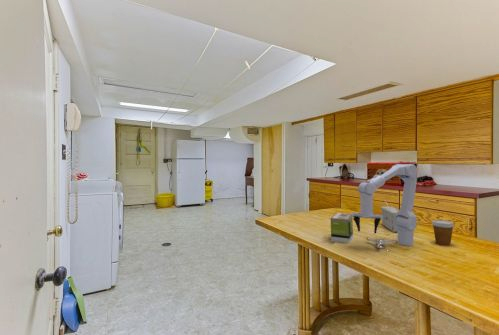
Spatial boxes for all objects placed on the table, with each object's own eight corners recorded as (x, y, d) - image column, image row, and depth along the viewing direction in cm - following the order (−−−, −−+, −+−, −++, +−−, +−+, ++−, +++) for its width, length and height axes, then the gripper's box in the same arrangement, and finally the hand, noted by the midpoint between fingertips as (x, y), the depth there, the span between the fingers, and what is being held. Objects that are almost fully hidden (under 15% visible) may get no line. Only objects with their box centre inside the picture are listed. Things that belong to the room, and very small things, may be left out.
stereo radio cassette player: (406, 233, 154) (406, 201, 153) (392, 232, 155) (392, 201, 155) (392, 224, 174) (392, 196, 174) (380, 224, 176) (379, 196, 175)
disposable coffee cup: (448, 241, 137) (448, 220, 136) (458, 247, 128) (458, 224, 127) (429, 240, 139) (428, 219, 139) (436, 246, 130) (436, 223, 130)
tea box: (336, 235, 153) (335, 212, 152) (353, 237, 147) (353, 213, 147) (330, 242, 140) (330, 217, 139) (349, 245, 135) (349, 218, 134)
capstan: (366, 242, 136) (366, 235, 136) (396, 246, 128) (395, 239, 128) (363, 248, 125) (363, 241, 125) (394, 254, 118) (394, 246, 118)
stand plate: (370, 243, 137) (370, 240, 137) (393, 246, 131) (393, 243, 131) (366, 251, 125) (366, 247, 125) (391, 255, 119) (391, 251, 119)
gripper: (350, 206, 127) (350, 232, 127) (381, 208, 119) (382, 236, 119) (352, 203, 133) (353, 228, 133) (383, 205, 125) (383, 232, 125)
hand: (367, 231), depth 127 cm, fingers open, 7 cm apart
